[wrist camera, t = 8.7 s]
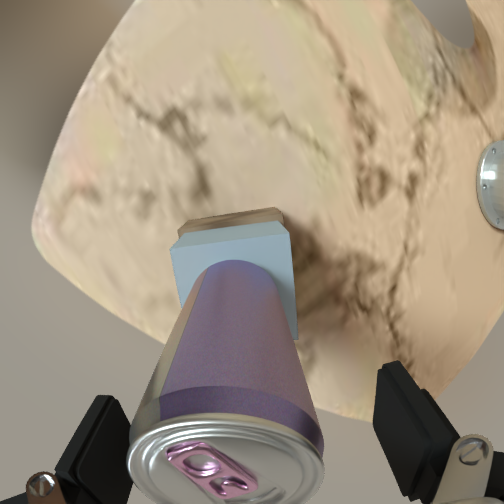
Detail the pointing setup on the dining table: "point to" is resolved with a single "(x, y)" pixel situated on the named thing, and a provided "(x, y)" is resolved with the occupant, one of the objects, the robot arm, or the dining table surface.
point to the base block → (232, 220)
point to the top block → (238, 258)
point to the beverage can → (228, 401)
